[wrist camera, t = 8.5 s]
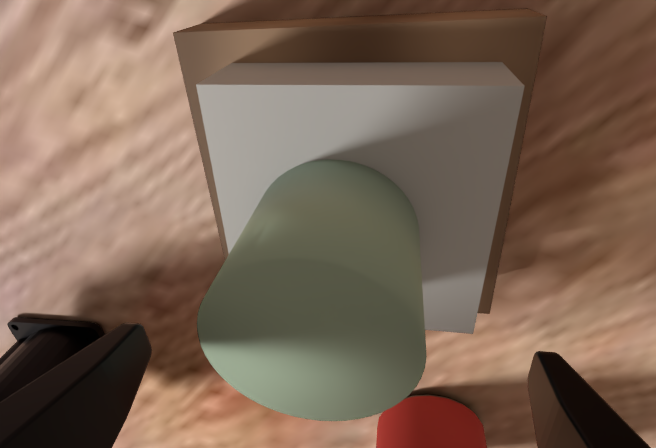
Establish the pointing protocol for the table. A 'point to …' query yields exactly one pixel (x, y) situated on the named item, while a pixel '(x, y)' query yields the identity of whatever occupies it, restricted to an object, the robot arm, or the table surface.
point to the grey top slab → (377, 151)
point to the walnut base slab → (370, 47)
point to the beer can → (429, 424)
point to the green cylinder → (321, 296)
